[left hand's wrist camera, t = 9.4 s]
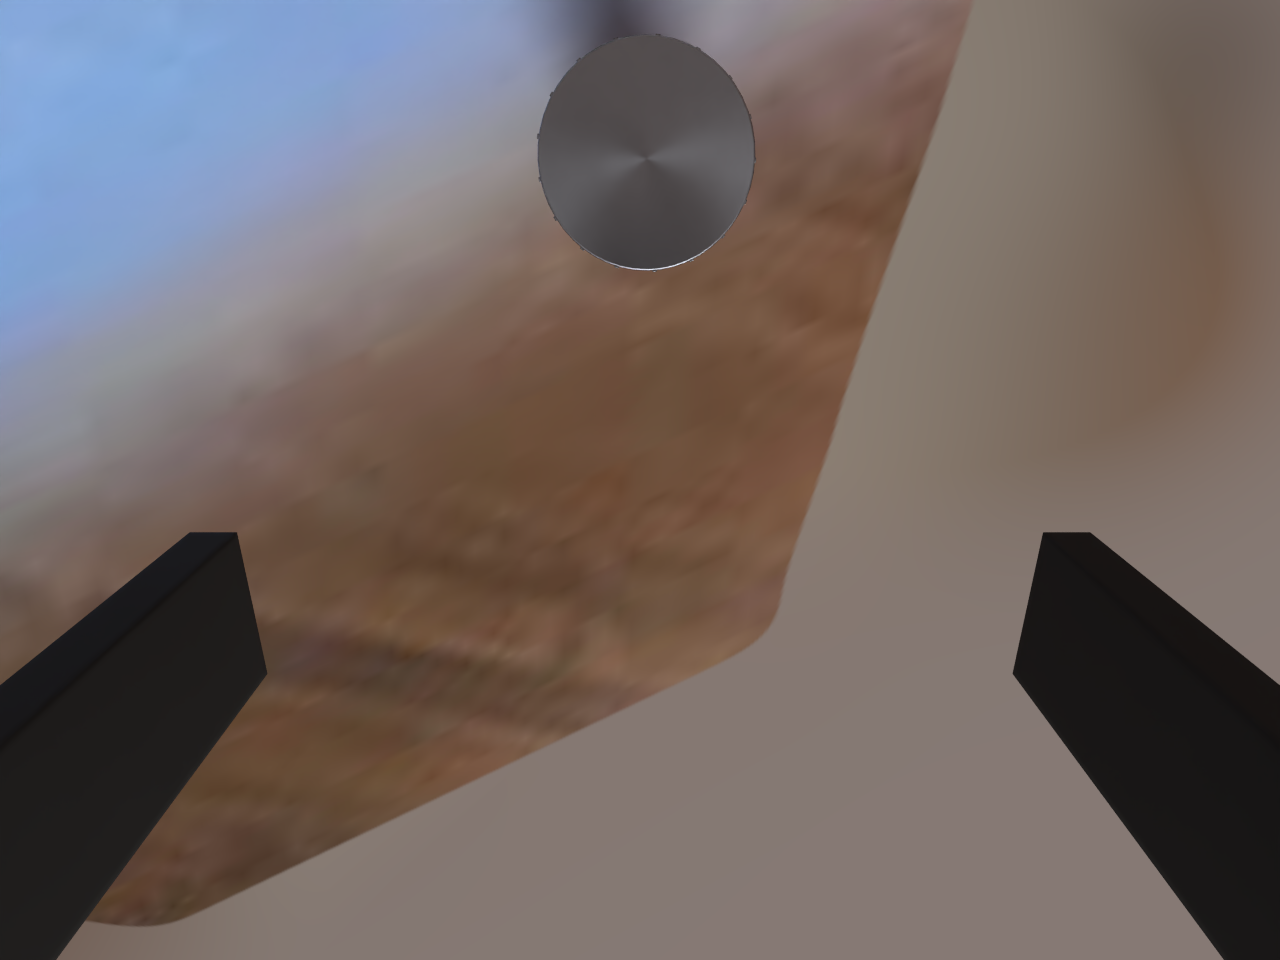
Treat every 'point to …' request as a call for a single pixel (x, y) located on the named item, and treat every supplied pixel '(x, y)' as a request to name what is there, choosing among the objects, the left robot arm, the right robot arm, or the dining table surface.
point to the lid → (646, 152)
